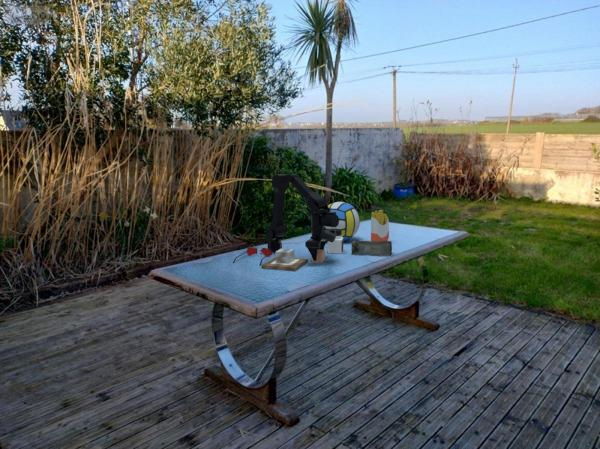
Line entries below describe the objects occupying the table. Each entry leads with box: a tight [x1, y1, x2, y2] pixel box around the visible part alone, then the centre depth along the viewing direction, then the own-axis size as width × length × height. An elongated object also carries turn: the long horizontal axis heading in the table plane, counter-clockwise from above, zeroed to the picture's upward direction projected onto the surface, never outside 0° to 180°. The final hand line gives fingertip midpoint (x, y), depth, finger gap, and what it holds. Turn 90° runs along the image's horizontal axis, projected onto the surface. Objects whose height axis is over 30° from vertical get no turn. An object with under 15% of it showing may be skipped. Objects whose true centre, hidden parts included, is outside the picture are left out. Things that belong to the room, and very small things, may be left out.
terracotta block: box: [310, 249, 326, 264], centre depth 197 cm, size 5×5×5 cm
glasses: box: [232, 246, 274, 266], centre depth 201 cm, size 14×16×5 cm
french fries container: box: [370, 209, 390, 241], centre depth 229 cm, size 5×11×18 cm, turn 134°
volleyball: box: [324, 201, 361, 242], centre depth 238 cm, size 22×22×22 cm
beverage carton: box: [351, 240, 393, 257], centre depth 208 cm, size 8×19×7 cm, turn 75°
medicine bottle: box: [327, 228, 344, 255], centre depth 213 cm, size 7×7×12 cm
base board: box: [260, 248, 309, 272], centre depth 191 cm, size 16×16×7 cm
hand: (318, 258), depth 197 cm, fingers open, 9 cm apart
